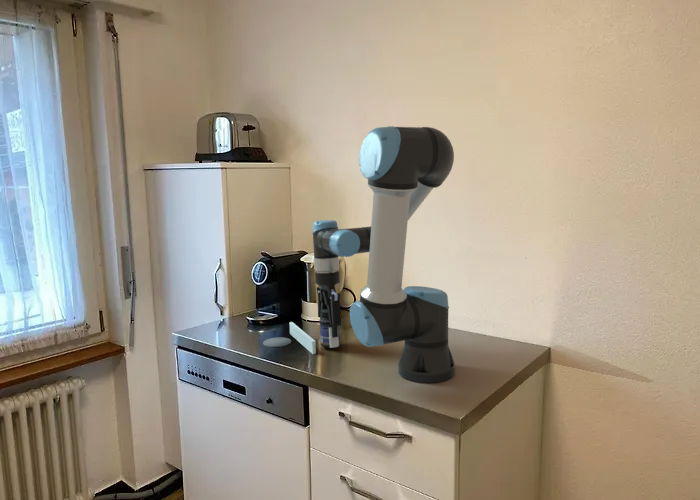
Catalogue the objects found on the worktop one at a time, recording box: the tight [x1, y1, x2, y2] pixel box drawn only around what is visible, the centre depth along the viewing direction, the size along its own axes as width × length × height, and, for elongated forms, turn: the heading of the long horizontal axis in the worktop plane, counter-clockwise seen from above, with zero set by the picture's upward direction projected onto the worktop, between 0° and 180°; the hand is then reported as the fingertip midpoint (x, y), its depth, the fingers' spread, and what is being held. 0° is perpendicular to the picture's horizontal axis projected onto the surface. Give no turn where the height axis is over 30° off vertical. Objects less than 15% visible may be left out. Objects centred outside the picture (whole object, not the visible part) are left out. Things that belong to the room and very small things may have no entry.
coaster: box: [262, 336, 292, 348], centre depth 173 cm, size 9×9×1 cm
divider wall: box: [289, 321, 317, 355], centre depth 172 cm, size 23×1×4 cm, turn 24°
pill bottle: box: [318, 309, 341, 348], centre depth 166 cm, size 6×6×11 cm
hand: (330, 343), depth 167 cm, fingers closed on pill bottle, 6 cm apart
